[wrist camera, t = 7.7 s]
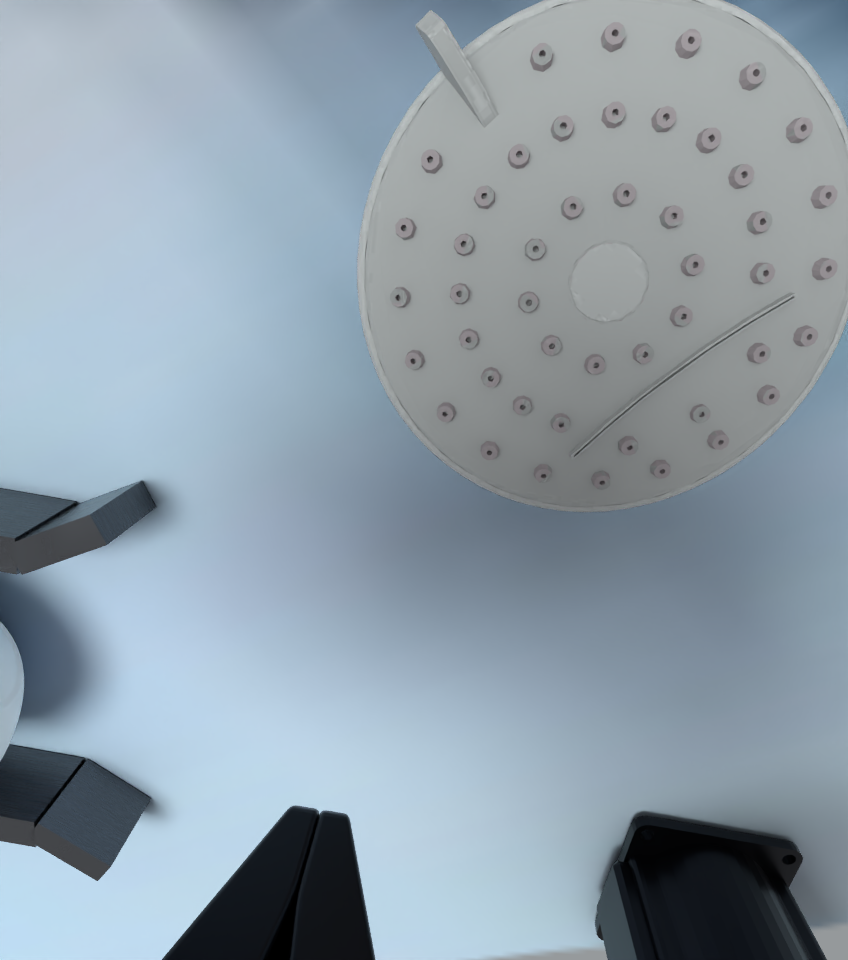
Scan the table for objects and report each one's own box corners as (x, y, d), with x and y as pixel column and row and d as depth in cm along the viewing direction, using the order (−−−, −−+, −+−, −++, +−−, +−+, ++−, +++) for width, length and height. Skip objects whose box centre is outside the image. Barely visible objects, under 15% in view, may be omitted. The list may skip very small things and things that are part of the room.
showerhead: (687, -266, 8) (1006, 320, 10) (583, -20, 15) (788, 302, 17) (214, 220, 10) (554, 616, 13) (311, 241, 17) (521, 495, 19)
